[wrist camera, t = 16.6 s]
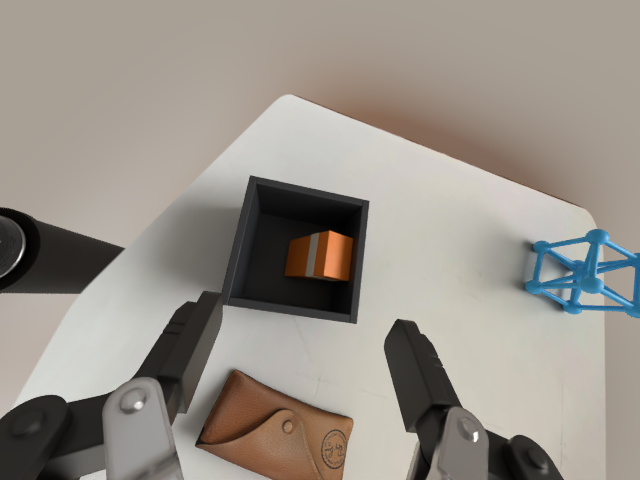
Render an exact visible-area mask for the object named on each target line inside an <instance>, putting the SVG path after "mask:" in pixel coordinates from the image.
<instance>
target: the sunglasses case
mask: <svg viewBox="0 0 640 480" xmlns="http://www.w3.org/2000/svg"><path fill="white" fill-rule="evenodd" d="M352 428H353V419H352V418H349V417H346V416H342V415H338V414H334V413H330V412H327V411H324V410H321V409H319V408H316V407H313V406H311V405H309V404H306V403H304V402H302V401H299V400H297V399H294V398H292V397H290V396H288V395H285V394H283V393H281V392H279V391H276V390H274V389H272V388H270V387H268V386H266V385H264V384H262V383H259V382H258V381H256V380H255V379H253V378H251V377H250V376H248V375H246V374H244V373H243V372H241V371H239V370H235V371H233V372H232V373H231V374H230V376H229V378H228V380H227V381H226V383H225V385H224V387H223V389H222V391H221V393H220V395H219V397H218V399H217V401H216V403H215V405H214V406H213V408H212V410H211V412H210V414H209V416H208V418H207V420H206V422H205V423H204V426H203V428H202V431H201V434H200V435H199V438H198V440H197V441H196V444H195V447H197V448H200V449H203V450H205V451H208V452H209V453H212V454H214V455H216V456H218V457H220V458H222V459H224V460H226V461H229V462H231V463H233V464H236V465H238V466H241V467H243V468H245V469H248V470H250V471H253V472H256V473H258V474H260V475H263V476H266V477H268V478H270V479H273V480H342V477H343V470H344V463H345V457H346V449H347V443H348V440H349V437H350V434H351V431H352Z"/></svg>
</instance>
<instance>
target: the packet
mask: <svg viewBox="0 0 640 480" xmlns="http://www.w3.org/2000/svg"><path fill="white" fill-rule="evenodd" d="M352 245H353V238H350V237H347V236H344V235H341V234H338V233H335V232H333V231H326V232H322V233H316V234H312V235H310V236H306V237H302V238H298V239H294V240H290V245H289V251H288V257H287V262H286V268H285V274H284V276H287V277H292V278H297V279H302V280H320V281H349V274H350V264H351V255H352Z"/></svg>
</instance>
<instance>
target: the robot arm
mask: <svg viewBox="0 0 640 480" xmlns="http://www.w3.org/2000/svg"><path fill="white" fill-rule="evenodd" d="M28 247H29V239H28V235H27V233H26V231H25V229H24V228H23V227H22V226H21V225H20V224H19V223H18V222H16V221H14V220H13V219H10V218H7V217H4V216H0V280H1V279H3V278H5V277H7V276H8V275H10V274H11V273H12V272H14V271H15V270H16V269H17V268H18V267H19V266H20V265H21V263H22V262H23V260H24V259H25V257H26V254H27V252H28ZM222 316H223V293H218V292H211V291H203V292H202V294H201V296H200V298H199V299H198V301H197V303H196V302H189V301H187V302H186V303H185V304H184V305H182V306H181V307H180V308H178V309H177V310H176V311H175V313H174V315H173V316H172V318H171V319H170V321H169V324H167V326H166V327H165V329H164V330H163V333H162V334H161V335H160V337H159V338H158V340H157V341H156V343H155V345H154V346H153V348H152V349H151V351H150V352H149V354H148V356H147V357H146V359H145V360H144V362H143V364H142V365H141V367H140V368H139V370H138V371H137V373H136V374H135V375H134V376H133V377H132V378H131V379H130V380H129V381H128V382H126V383H124V384H122V385H121V386H120V387H118V388H117V389H116V390H114V391H112V392H110V393H107V394H104V395H101V396H96V397H92V398H87V399H82V400H78V401H73V402H69V403H66V401H65V400H64V399H63V398H62V397H60V396H57V395H45V396H40V397H36V398H33V399H31V400H28V401H26V402H24V403H22V404H20V405H19V406H17V407H15V408H14V409H12V410H11V411H10V412H8V413H7V414H6V415H5V416H3V417H2V418H1V419H0V480H79V479H80V477H81V476H84V475H87V474H91V473H94V472H97V471H100V470H103V469H106V476H107V480H184V478H183V474H182V470H181V466H180V462H179V458H178V454H177V451H176V447H175V442H174V438H173V434H172V430H171V426H172V424H173V422H174V419H175V417H176V415H177V413H184V414H186V413H187V411H188V408H189V406H190V403H191V400H192V398H193V395H194V393H195V390H196V388H197V385H198V383H199V380H200V378H201V375H202V373H203V370H204V368H205V365H206V363H207V360H208V358H209V355H210V353H211V350H212V348H213V345H214V343H215V340H216V338H217V335H218V333H219V330H220V327H221V323H222ZM384 351H385V355H386V359H387V363H388V366H389V370H390V374H391V377H392V381H393V385H394V389H395V392H396V396H397V400H398V403H399V407H400V411H401V414H402V418H403V422H404V425H405V429H406V432H410V433H417V435H418V438H419V440H418V442H417V444H416V447H415V450H414V454H413V457H412V461H411V464H410V468H409V471H408V475H407V478H406V480H564V479H563V478H562V476H561V474H560V473H559V471H558V469H557V468H556V466H555V464H554V463H553V461H552V460H551V458H550V457H549V456H548V454H547V453H546V452H545V451H544V450H543V449H542V448H541V447H540V446H539V445H538V444H537V443H536V442H534V441H533V440H531V439H530V438H528V437H526V436H523V435H516V436H514V437H513V438H511V439H510V440H508V439H506V438H504V437H501V436H499V435H497V434H495V433H493V432H491V431H488V430H486V429H484V427H483V426H482V424H481V423H480V421H479V420H478V419H477V418H476V417H475V416H474V415H473V414H472V413H470V412H469V411H467V410H466V409H464V408H463V407H462V405H461V403H460V401H459V399H458V397H457V395H456V393H455V391H454V389H453V386H452V384H451V382H450V380H449V378H448V376H447V374H446V372H445V369H444V368H443V367H442V366H443V365H442V363H441V361H440V359H439V358H438V355H437V352H436V350H435V348H434V346H433V344H432V343H431V342H430V341H429V340H428V338H427V337H426V336H425V335H424V334H421V333H420V331H419V329H418V327H417V325H416V323H415V322H414V321H408V320H401V319H397V320H396V321H395V323H394V325H393V326H392V328H391V330H390V332H389V333H388V335H387V337H386V339H385V343H384Z"/></svg>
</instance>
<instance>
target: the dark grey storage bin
mask: <svg viewBox="0 0 640 480" xmlns="http://www.w3.org/2000/svg"><path fill="white" fill-rule="evenodd" d="M368 210H369V201H367V200H362V199H358V198H353V197H349V196H344V195H339V194H335V193H330V192H325V191H321V190H316V189H311V188H307V187H302V186H297V185H293V184H288V183H283V182H279V181H274V180H269V179H265V178H260V177H258V178H257V177H256V176H251V175H250V178H249V182H248V186H247V190H246V194H245V198H244V203H243V207H242V211H241V215H240V219H239V223H238V227H237V231H236V235H235V240H234V244H233V248H232V252H231V256H230V260H229V264H228V268H227V273H226V277H225V281H224V285H223V289H222V293H223V305H228V306H234V307H241V308H248V309H255V310H262V311H269V312H276V313H283V314H290V315H297V316H304V317H311V318H318V319H325V320H332V321H339V322H346V323H353V324H357V316H358V307H359V297H360V287H361V277H362V268H363V258H364V248H365V239H366V229H367V219H368ZM326 231H333V232H335V233H338V234H341V235H344V236H347V237H350V238H353V245H352V255H351V264H350V274H349V281H320V280H302V279H297V278H292V277H287V276H284V274H285V268H286V262H287V257H288V251H289V245H290V240H294V239H298V238H302V237H306V236H310V235H312V234H316V233H322V232H326Z"/></svg>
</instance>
